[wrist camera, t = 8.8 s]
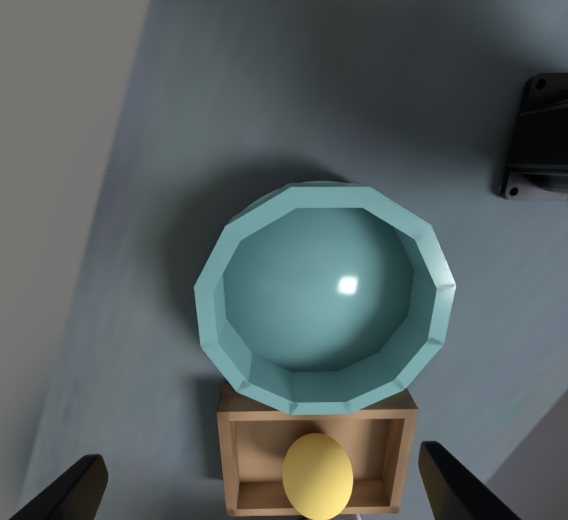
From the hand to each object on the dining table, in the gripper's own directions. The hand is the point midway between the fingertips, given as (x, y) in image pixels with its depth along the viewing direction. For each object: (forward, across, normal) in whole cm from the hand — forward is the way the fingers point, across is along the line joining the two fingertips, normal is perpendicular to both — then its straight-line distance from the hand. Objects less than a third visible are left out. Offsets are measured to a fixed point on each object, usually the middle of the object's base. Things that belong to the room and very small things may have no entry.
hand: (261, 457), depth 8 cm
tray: (+12, -2, +14) cm, 18 cm away
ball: (+9, -2, +13) cm, 16 cm away
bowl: (+12, -3, +1) cm, 12 cm away
